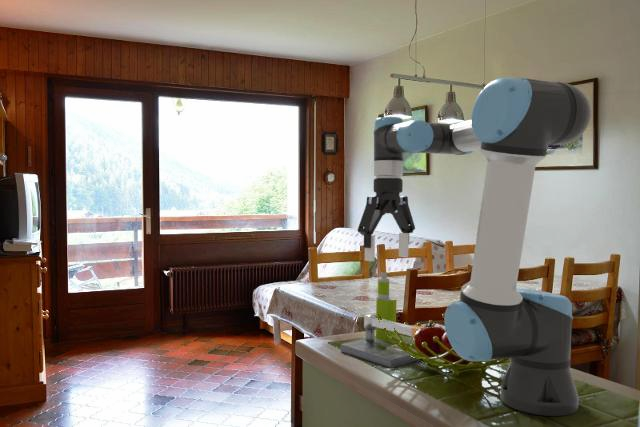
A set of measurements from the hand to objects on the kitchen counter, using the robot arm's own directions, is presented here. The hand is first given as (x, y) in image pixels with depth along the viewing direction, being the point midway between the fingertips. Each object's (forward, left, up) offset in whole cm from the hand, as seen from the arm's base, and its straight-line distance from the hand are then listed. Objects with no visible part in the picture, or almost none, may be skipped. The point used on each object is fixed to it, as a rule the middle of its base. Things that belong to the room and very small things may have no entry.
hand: (387, 259), depth 153 cm
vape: (+9, -10, -26) cm, 29 cm away
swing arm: (-1, -2, -20) cm, 20 cm away
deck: (+1, +1, -25) cm, 25 cm away
